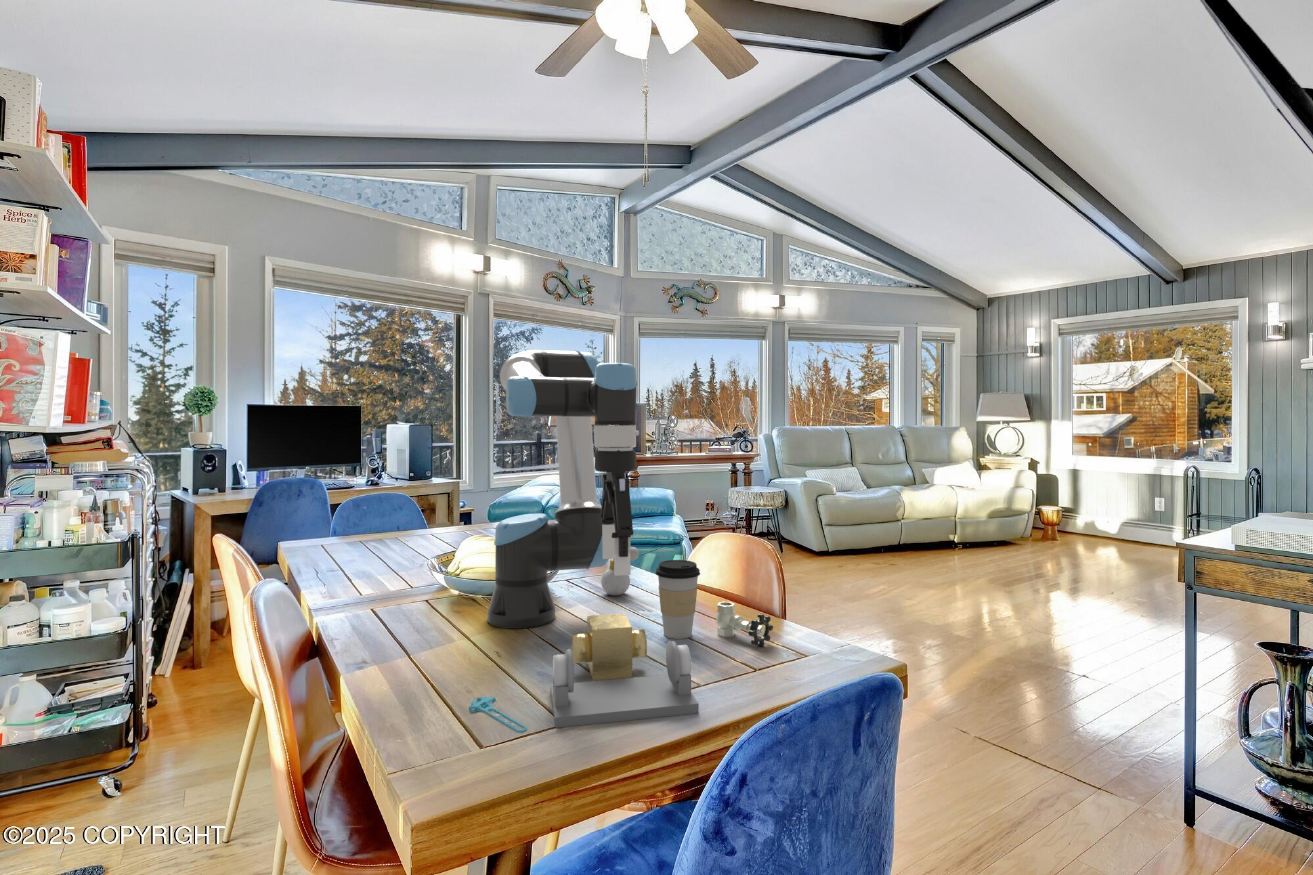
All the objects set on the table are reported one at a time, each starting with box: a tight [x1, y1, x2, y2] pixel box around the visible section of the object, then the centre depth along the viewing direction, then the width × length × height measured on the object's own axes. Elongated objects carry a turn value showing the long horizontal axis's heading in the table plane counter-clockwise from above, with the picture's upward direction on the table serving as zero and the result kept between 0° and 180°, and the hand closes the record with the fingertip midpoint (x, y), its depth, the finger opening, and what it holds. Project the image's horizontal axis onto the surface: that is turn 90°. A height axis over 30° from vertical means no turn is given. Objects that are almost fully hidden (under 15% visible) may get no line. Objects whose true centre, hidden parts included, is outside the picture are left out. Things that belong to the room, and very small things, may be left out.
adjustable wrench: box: [468, 696, 528, 733], centre depth 99 cm, size 14×1×5 cm
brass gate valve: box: [571, 613, 648, 681], centre depth 117 cm, size 8×13×9 cm, turn 103°
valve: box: [715, 601, 774, 648], centre depth 134 cm, size 7×7×12 cm
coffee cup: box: [655, 559, 701, 640], centre depth 136 cm, size 9×9×15 cm
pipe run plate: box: [550, 640, 700, 729], centre depth 103 cm, size 12×22×9 cm, turn 103°
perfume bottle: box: [600, 546, 640, 596], centre depth 168 cm, size 8×10×12 cm
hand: (615, 566), depth 117 cm, fingers open, 13 cm apart
